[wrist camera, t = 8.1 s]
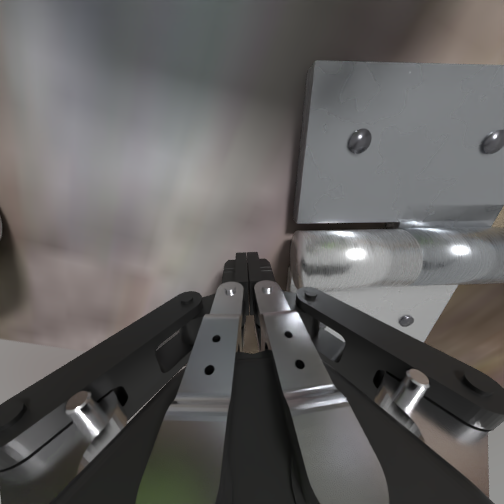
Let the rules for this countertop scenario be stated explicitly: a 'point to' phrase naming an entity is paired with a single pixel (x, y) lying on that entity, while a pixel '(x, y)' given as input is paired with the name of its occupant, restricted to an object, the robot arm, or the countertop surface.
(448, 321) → the countertop surface
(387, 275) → the loose leaf
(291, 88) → the countertop surface
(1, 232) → the ramekin
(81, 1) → the countertop surface
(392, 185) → the fixed leaf
